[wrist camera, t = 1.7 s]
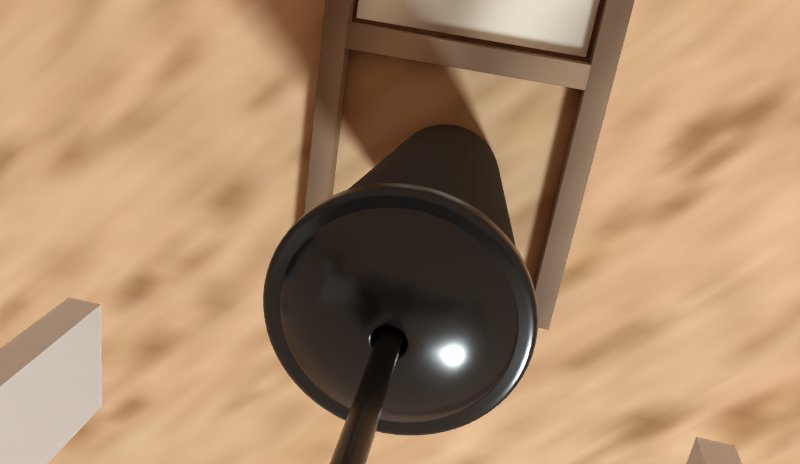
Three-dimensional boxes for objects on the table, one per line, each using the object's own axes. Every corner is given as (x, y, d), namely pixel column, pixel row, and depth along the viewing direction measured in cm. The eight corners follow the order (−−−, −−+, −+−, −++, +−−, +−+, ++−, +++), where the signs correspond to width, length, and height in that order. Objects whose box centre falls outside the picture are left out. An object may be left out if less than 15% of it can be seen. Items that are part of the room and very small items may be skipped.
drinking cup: (413, 57, 30) (250, 219, 12) (565, 150, 31) (632, 443, 12) (333, 201, 33) (102, 506, 15) (472, 283, 34) (415, 679, 15)
